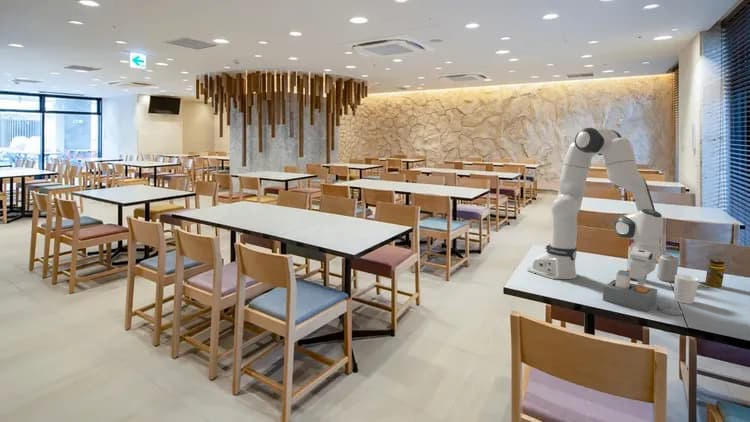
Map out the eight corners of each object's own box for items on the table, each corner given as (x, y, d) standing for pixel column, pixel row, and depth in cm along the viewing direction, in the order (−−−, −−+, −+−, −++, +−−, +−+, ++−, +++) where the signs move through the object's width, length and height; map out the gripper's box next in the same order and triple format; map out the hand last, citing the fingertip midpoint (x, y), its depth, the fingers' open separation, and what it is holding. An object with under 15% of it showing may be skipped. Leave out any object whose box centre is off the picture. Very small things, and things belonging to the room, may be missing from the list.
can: (678, 283, 202) (682, 257, 199) (660, 281, 203) (664, 256, 201) (671, 277, 209) (674, 253, 207) (654, 276, 210) (657, 252, 208)
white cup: (672, 296, 185) (675, 273, 183) (695, 300, 181) (698, 276, 179) (671, 301, 179) (674, 278, 177) (695, 306, 174) (699, 282, 172)
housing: (602, 300, 179) (604, 286, 178) (612, 293, 188) (614, 279, 187) (646, 311, 168) (648, 296, 167) (655, 303, 176) (657, 289, 175)
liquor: (644, 279, 206) (651, 220, 202) (639, 282, 202) (646, 222, 197) (627, 275, 212) (634, 218, 207) (622, 278, 207) (628, 220, 202)
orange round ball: (634, 297, 175) (635, 286, 174) (636, 295, 177) (638, 284, 176) (644, 300, 172) (646, 289, 171) (647, 297, 174) (648, 287, 174)
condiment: (725, 289, 194) (729, 263, 192) (703, 287, 197) (706, 261, 194) (718, 284, 201) (722, 258, 199) (696, 281, 203) (700, 257, 201)
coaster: (655, 311, 169) (655, 309, 169) (660, 305, 174) (660, 304, 174) (679, 317, 163) (679, 315, 163) (684, 311, 169) (685, 310, 168)
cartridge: (612, 299, 180) (615, 271, 178) (616, 296, 183) (619, 269, 181) (625, 303, 177) (628, 274, 174) (629, 300, 180) (632, 271, 178)
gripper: (644, 245, 181) (640, 277, 183) (628, 254, 167) (623, 288, 169) (662, 248, 176) (657, 281, 179) (647, 257, 162) (642, 293, 165)
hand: (641, 285), depth 174 cm, fingers closed
